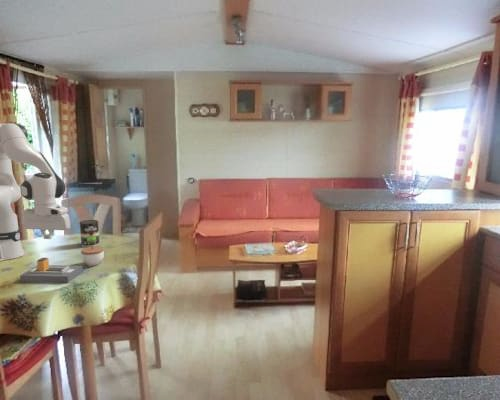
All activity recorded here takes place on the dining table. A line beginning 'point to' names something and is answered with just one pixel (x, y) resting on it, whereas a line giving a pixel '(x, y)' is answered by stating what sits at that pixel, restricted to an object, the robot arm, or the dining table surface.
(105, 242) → the dining table surface
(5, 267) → the dining table surface
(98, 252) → the lidded jar
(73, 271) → the panel
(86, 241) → the coffee can
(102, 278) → the dining table surface
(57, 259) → the dining table surface
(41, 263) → the lever
